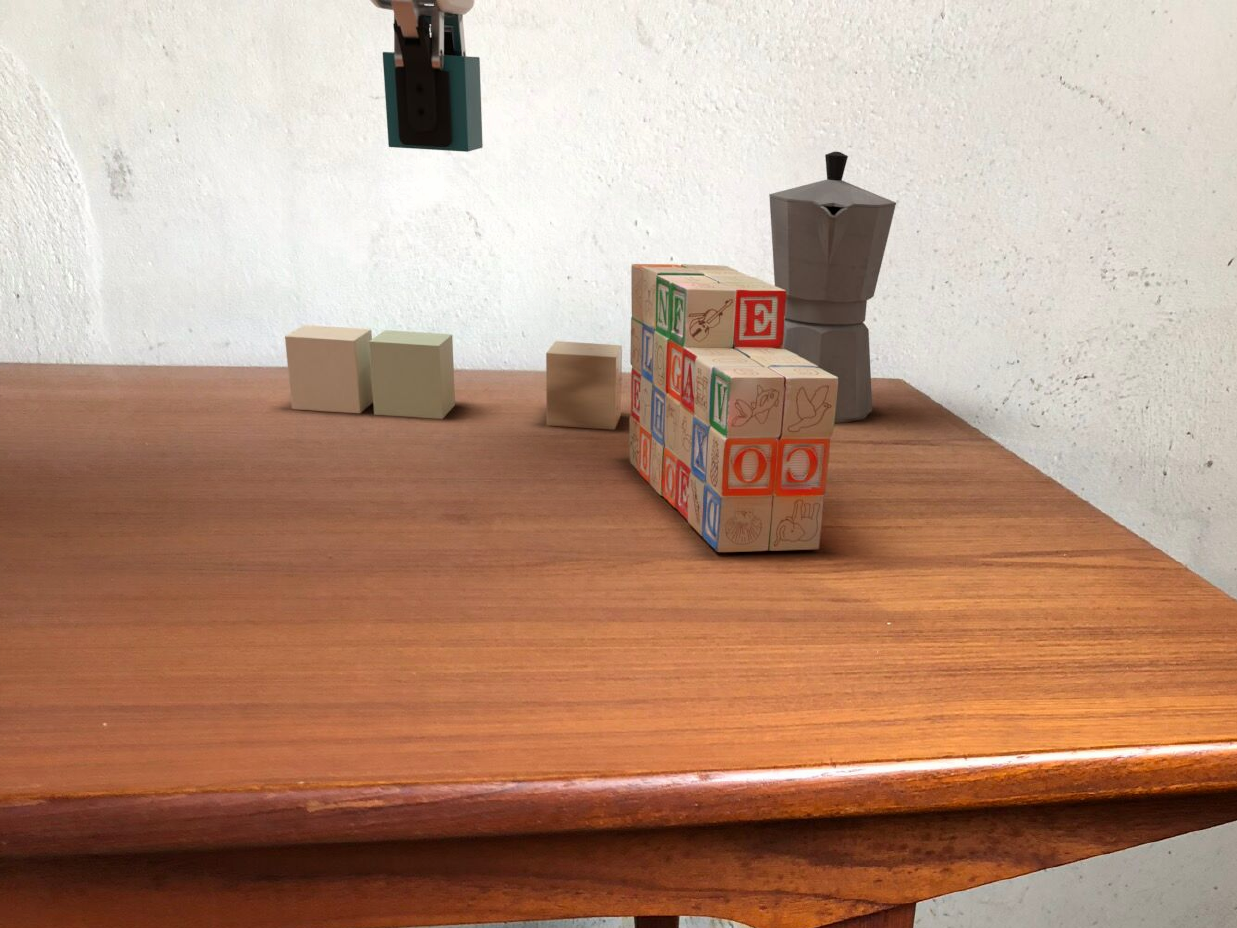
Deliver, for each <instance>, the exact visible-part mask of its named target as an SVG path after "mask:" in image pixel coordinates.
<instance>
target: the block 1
mask: <svg viewBox="0 0 1237 928" xmlns="http://www.w3.org/2000/svg"><path fill="white" fill-rule="evenodd" d="M372 335H373V334H372V329H371V328H357V327H340V326H326V325H325V326H324V325H310V324H304V325H303V326H300V327H298V328H297V329H295V330H293V331H291V332H290V333H288V334H286V335H284V343H285V353H286V361H287V362H286V363H287V372H288V373H287V374H288V381H289V392H290V393H289V394H290V402H291V410H293V411H294V410H296V411H313V412H328V413H343V414H357V415H358V414H361V413H363V412H364V411H365V410H366V409H367V408H369V407H370V406H371V405H372V404H373V391H372V377H371V363H370V349H369V341H370V340H372V339H373V336H372Z"/></svg>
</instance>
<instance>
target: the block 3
mask: <svg viewBox="0 0 1237 928" xmlns="http://www.w3.org/2000/svg"><path fill="white" fill-rule="evenodd" d="M545 362H546V363H545V364H546V365H545V374H546V375H545V380H546V381H545V385H546V387H545V389H546V390H545V391H546V392H545V393H546V395H545V396H546V426H548V427H561V428H562V427H563V428H578V429H596V430H607V431H608V430H609V431H615V430H616V428H617V425H618V423H619V421H620V418H621V415H622V379H623V378H622V377H623V370H622V369H623V345H622V344H607V343H594V342H593V343H591V342H576V341H560V340H555V341H554V342H553V343H552V345H551V346H550V347H549V349H548V350H547V351H546V353H545Z"/></svg>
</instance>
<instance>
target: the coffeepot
mask: <svg viewBox="0 0 1237 928" xmlns="http://www.w3.org/2000/svg"><path fill="white" fill-rule="evenodd" d="M824 157H825V169H826V170H825V171H826V179H823V180H819V181H816V182H812V183H808V184H804V185H800V186H796V187H792V188H788V189H784V190H781V191H777V192H773V193H769V194H768V196H769V212H770V213H769V214H770V229H771V244H772V246H771V247H772V262H773V264H772V265H773V279H774V280H773V281H774V286H776V287H779V288H781V289H783V290H785V291H786V305H785V321H784V337H783V348H782V349H786V350H788V351H790V352H792V353H794V354H796V355H798V356H799V357H801V358H803V359H805V360H807V361H809V362H811V363H813V364H815V365H817V366H818V367H819V368H821V369H823V370H824V371H826V372H828V373H830V374H832V375H834V376H837V377H838V390H837V400H836V411H835V419H834V424H835V423H850V422H857V421H861V420H863V419H866V418H867V417H868V415H869V414H870V413H871V412H873V393H872V371H871V352H870V331H869V328H868V327H867V325H866V324H865V321H866V314H867V305H868V301H869V300H871V299H873V298H874V296H875V292H876V290H877V289H876V288H877V285H878V281H879V275H880V272H881V268H882V264H883V259H884V256H885V251H886V247H887V242H888V239H889V234H890V231H891V228H892V227H891V226H892V222H893V218H894V214H895V210H896V206H897V202H896V201H893V200H892V199H889V198H886V197H884V196H881V195H878V194H876V193H874V192H871V191H869V190H866V189H865V188H861V187H860V186H857V185H855V184H852V183H849V182H847V181H844V180H843V177H844V173H845V169H846V165H847V161H848V158H849V156H848V155H847V154H845V153H843V152H841V151H832V152H829V153H826V154H824Z"/></svg>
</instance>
